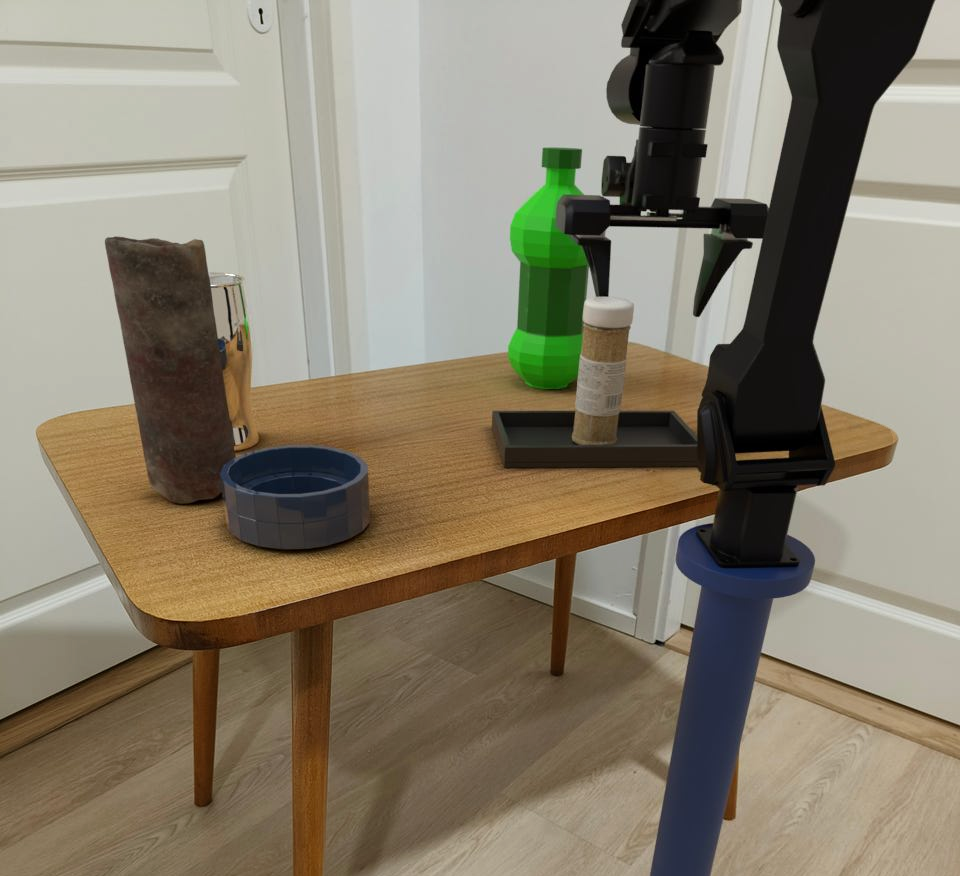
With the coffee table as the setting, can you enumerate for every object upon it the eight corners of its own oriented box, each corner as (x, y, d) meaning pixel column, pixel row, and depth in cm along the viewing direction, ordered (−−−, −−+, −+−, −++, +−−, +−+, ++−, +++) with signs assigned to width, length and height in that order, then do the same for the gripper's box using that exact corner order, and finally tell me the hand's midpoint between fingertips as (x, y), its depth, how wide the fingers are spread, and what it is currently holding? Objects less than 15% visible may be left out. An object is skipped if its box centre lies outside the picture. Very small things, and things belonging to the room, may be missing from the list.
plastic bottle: (562, 369, 114) (579, 146, 101) (604, 391, 106) (628, 151, 93) (491, 375, 111) (499, 145, 98) (529, 399, 102) (543, 151, 89)
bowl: (369, 552, 67) (367, 496, 65) (217, 554, 66) (209, 497, 64) (370, 495, 77) (368, 444, 74) (237, 496, 76) (231, 445, 73)
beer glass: (278, 439, 88) (263, 278, 80) (226, 459, 83) (204, 288, 75) (227, 425, 91) (209, 269, 83) (174, 444, 86) (149, 278, 78)
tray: (703, 466, 85) (707, 446, 84) (504, 467, 83) (505, 447, 82) (671, 429, 95) (674, 410, 93) (491, 429, 93) (492, 410, 92)
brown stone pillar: (134, 485, 77) (87, 232, 67) (211, 466, 81) (179, 226, 71) (175, 512, 72) (132, 245, 62) (255, 491, 77) (227, 238, 66)
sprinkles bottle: (601, 432, 91) (617, 293, 84) (625, 447, 88) (644, 304, 80) (562, 437, 89) (575, 296, 82) (585, 453, 86) (601, 307, 79)
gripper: (744, 128, 85) (717, 300, 93) (551, 122, 83) (540, 298, 92) (789, 133, 76) (754, 323, 84) (573, 126, 74) (559, 321, 82)
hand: (649, 315), depth 86 cm, fingers open, 9 cm apart
